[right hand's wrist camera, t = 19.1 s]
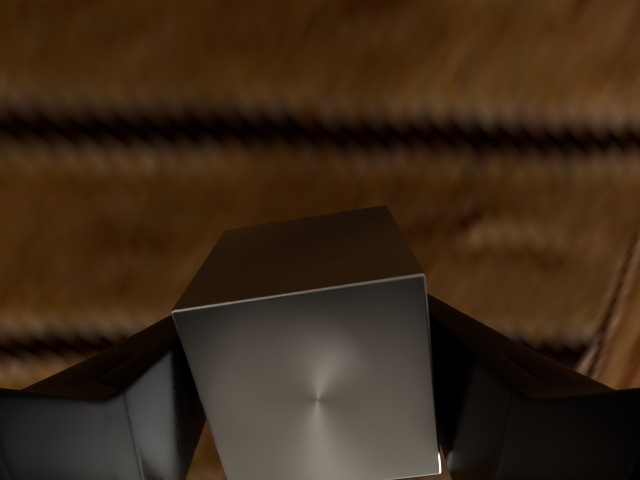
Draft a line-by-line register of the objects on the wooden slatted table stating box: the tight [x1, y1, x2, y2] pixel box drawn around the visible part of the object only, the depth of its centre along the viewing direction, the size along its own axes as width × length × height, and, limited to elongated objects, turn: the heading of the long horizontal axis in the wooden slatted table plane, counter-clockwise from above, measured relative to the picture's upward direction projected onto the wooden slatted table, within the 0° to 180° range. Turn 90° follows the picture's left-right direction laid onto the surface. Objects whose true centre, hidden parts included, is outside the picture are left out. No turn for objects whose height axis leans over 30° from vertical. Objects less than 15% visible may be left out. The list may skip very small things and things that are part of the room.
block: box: [172, 205, 442, 480], centre depth 10 cm, size 5×5×4 cm
